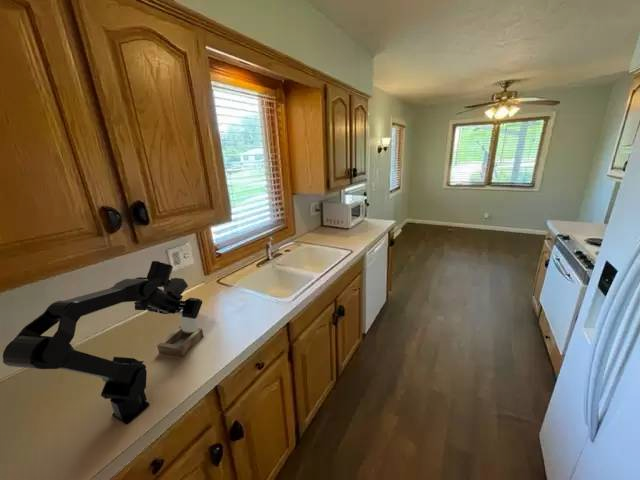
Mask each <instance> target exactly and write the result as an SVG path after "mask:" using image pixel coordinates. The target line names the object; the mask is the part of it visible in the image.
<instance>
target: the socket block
mask: <svg viewBox="0 0 640 480" xmlns="http://www.w3.org/2000/svg"><path fill="white" fill-rule="evenodd" d="M203 331H204V330H203V328H199V327H198V329H197V330H196V331H195V332H191V333H188V332H184V331H182V328H181V325H180V326H178V327H177V328H176V329H174V331H173V332H172V333H170V334H169V335H168V336H167V337H165V338H164V339H163V340H162V341H160V342H159V343H158V344H157V350H158V354H160V355H165V356H170V357H171V356H172V357H175V358H176V357H177V358H181V359H182V358H184V357H185V356H186V355H187V354H188V353H189V352H190V351H191V350H192V349H193V347H194V346H196V345H197V344H198V343H199V342H200V341H201V340H202V339H203V338H204V332H203Z"/></svg>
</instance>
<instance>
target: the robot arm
mask: <svg viewBox="0 0 640 480" xmlns="http://www.w3.org/2000/svg"><path fill="white" fill-rule="evenodd" d="M173 269H174V267H173V265H172V264H168V263H164V262H161V261H159V260H152V261H151V264H150V267H149V270H148V272H147V276H146V277H144V276H143V277H142V276H141V277H140V276H139V277H135V278H125V279H122V280H121V281H118V282H116V283H115V284H114V285H113V286H111V287H108V288H105V289H102V290H99V291H95V292H91V293H90V292H89V293H87V294H83V295H80V296H76V297H71V298H68V299H64V300H57V301H54V302H53V303H51V304H50V305H48V307H47V308H46V309H45V310H44V312H43V313H42V314H40V315H39V316H38V317H36V318H35V319H33V320H32V321H31V322H30V323H27V325H26V326H24V327H23V328H22V329H21V330H20V332H19V333H18V334H17V335H16V337H15V338H13V339H12V340H11V341H9V343H8V344H7V345H6V346H5V348H4V350H3V353H2V359H3V360H2V363H3V364H4V365H6V366H8V367H14V368H26V369H27V368H28V369H35V370H36V369H37V370H64V371H69V372H74V373H78V374H83V375H87V376H92V377H97V378H101V379H102V381H103V382H104V385H103V388H102V390H101V392H100V393H101V394H100V396H101V398H103V399H105V400H107V399H108V400H109V399H110V400H109V401H110V405H111V406H112V409H113V413H112V414H111V416H112V417H113V418H114V419H116V420H117V421H120V422H121V423H123V424H124V425H128V424H130V423H131V422H132V421H133V420H134V419H136V417H138V416H139V415H140V414H141V413H143V412H144V411H145V410H146V409H148V407H149V406H150V402H148V401H147V395H146V393H145V392H146V391H145V390H146V389H147V375H148V374H147V373H148V372H147V366H146V365H145V364H144V362H145V361H144V360H138V359H136V358H135V357H121V356H113V358H112V360H110V359H108V358H103V357H100V356H95V355H93V354H90V353H86V352H82V351H79V350H76V349H74V347H73V345H72V344H71V342H72V340H73V339H74V338H75V333H76V327H77V322H79V320H80V318H81V317H83V316H86V315H87V316H88V315H89V314H90V315H91V314H92V313H96V312H98V311H101V310H105V309H108V308H111V307H113V306H116V305H119V304H121V303H127V302H128V303H130V302H134V303H133V304H134V310H135V311H147V312H151V313H155V314H156V313H157V314H163V315H169V314H170V315H171V314H172V315H175V314H179V311H180V310H183V311H182V317H186V318H192V319H195V318H197V319H198V316H199V313H200V310H201V307H202V304H203V300H202V299H200V298H195V297H189V298H187V299H184V300H185V301H184V300H183V295H182V294H183V293H184V291H186V289H187V288H188V287H189V284H188V283H187V281H186V280H185V279H184V278H179V277H173V278H171V274H172V271H173ZM161 288H163V289H161ZM183 304H184V305H183ZM182 308H183V309H182ZM57 324H58V325H57ZM55 325H57V330H56V332H55V333H54V334H53V335H52V336H51V335H50V336H49V335H43V334H44V333H45V332H47V331H48V330H50V329H51V328H52V327H54V326H55Z"/></svg>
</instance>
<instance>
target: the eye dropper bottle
mask: <svg viewBox="0 0 640 480" xmlns="http://www.w3.org/2000/svg"><path fill="white" fill-rule="evenodd" d="M185 300H186V299H183V301H185ZM183 305H184V304H183ZM182 309H183V308H182ZM182 311H183V310H180V311H179V313H178V316H179V323H180V326H181V328H182V331H184V332H188V333H191V332H195V331H196V330H197V329H198V328H199V324H198V317H197V318H195V319H192V318H186V317H182Z"/></svg>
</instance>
